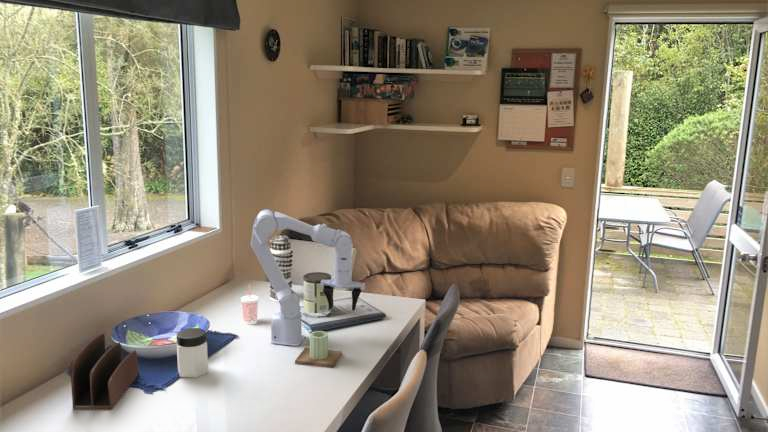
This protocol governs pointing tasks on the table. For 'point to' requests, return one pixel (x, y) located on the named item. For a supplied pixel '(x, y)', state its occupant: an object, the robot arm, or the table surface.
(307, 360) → the spool holder
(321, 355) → the green segmented tube
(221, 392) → the table surface
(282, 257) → the decorative candle
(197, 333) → the jar
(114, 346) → the letter holder
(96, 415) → the table surface
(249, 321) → the beverage cup
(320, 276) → the coffee can
